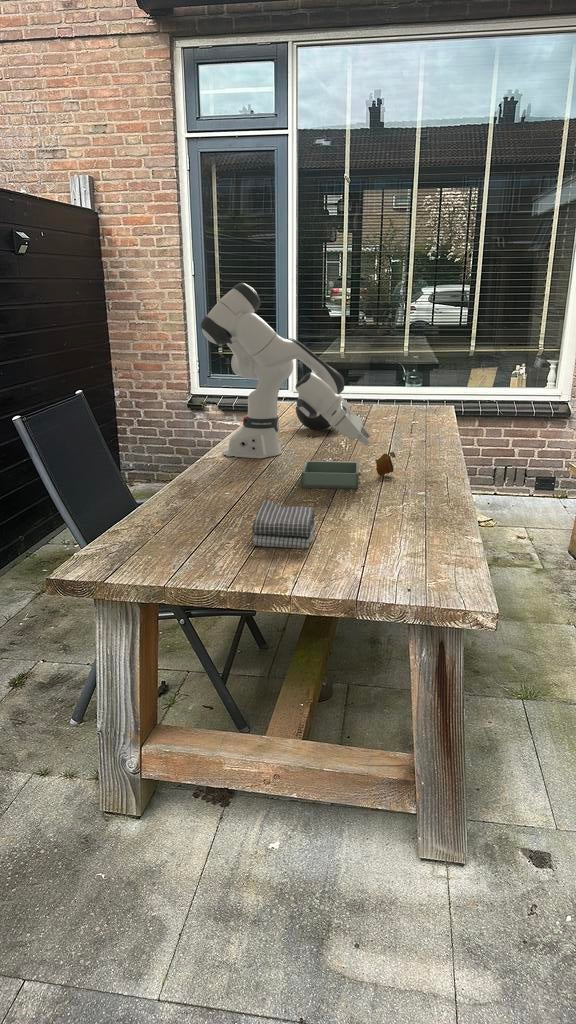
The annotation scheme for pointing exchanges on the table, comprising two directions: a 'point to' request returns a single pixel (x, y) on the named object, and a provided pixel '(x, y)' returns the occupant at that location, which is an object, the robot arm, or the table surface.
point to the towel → (283, 526)
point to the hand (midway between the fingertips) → (368, 440)
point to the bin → (330, 475)
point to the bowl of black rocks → (313, 421)
